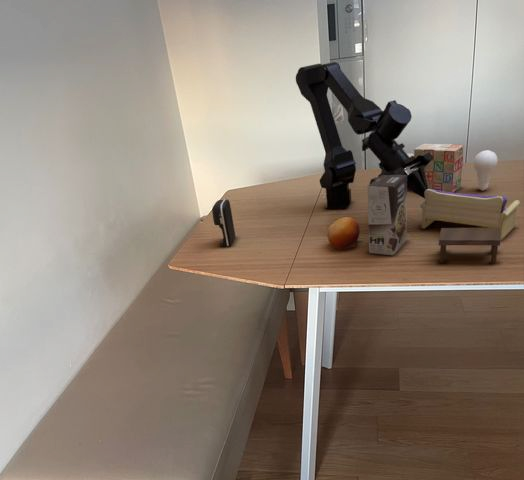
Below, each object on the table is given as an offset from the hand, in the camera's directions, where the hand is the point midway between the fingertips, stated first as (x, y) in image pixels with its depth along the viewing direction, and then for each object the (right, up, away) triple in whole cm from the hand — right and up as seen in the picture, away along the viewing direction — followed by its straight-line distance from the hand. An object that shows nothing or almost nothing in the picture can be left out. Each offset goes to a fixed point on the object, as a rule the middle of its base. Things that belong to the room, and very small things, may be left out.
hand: (428, 197), depth 128 cm
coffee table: (+4, -17, -14) cm, 23 cm away
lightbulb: (+22, +8, +21) cm, 32 cm away
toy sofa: (+9, -8, -1) cm, 12 cm away
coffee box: (-11, -13, -3) cm, 17 cm away
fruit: (-21, -12, +1) cm, 24 cm away
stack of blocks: (+8, +12, +30) cm, 33 cm away
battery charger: (-51, -8, +14) cm, 53 cm away
